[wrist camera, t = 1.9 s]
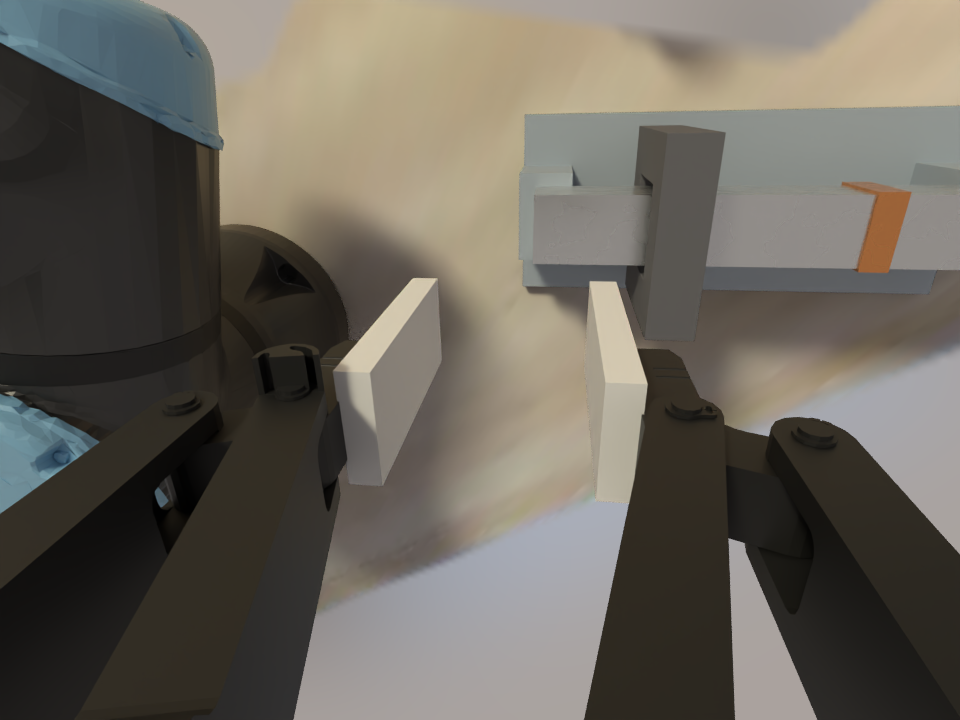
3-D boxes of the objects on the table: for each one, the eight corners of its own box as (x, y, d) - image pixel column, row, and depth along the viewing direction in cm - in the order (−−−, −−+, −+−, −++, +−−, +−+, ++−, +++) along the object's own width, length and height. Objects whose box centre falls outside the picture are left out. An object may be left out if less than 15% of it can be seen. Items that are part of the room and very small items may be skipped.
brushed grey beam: (535, 250, 34) (532, 267, 30) (537, 182, 32) (533, 192, 28) (975, 255, 30) (1029, 275, 27) (1001, 181, 29) (1062, 191, 25)
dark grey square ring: (625, 284, 37) (644, 339, 28) (639, 125, 33) (667, 133, 24) (662, 284, 36) (694, 341, 28) (681, 125, 32) (725, 132, 24)
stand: (523, 282, 40) (518, 306, 35) (525, 114, 35) (519, 115, 30) (921, 290, 36) (975, 318, 32) (981, 105, 32) (1053, 105, 27)
